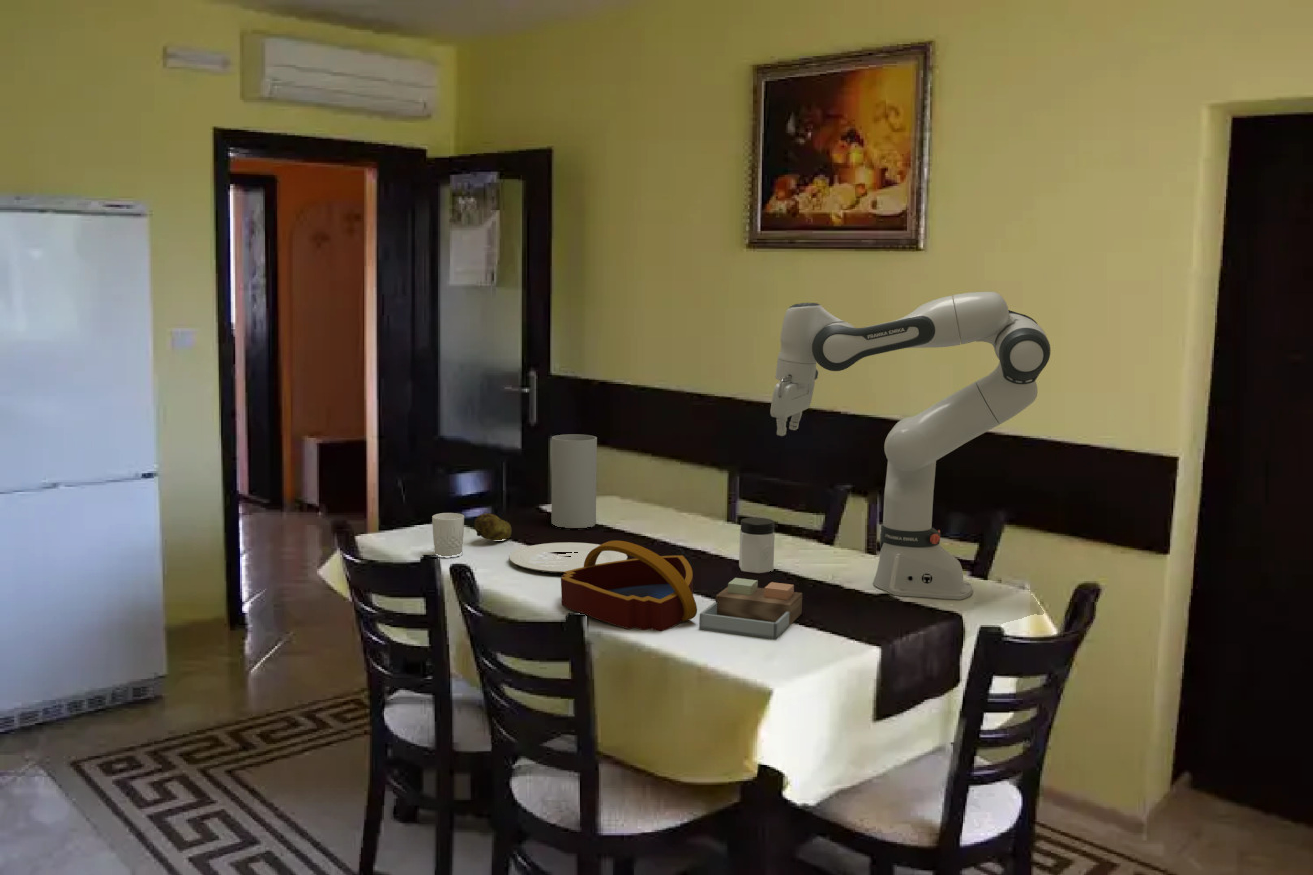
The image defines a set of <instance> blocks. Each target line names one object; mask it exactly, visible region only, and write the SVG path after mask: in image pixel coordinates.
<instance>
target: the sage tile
mask: <svg viewBox="0 0 1313 875" xmlns="http://www.w3.org/2000/svg"><path fill="white" fill-rule="evenodd" d="M758 583H759V581H758V579H756V580H755V579H751V578H750V579H747V578H740V577H734V578H733V579H732V580H730V581H729V582H728V583H727V587H728V593H736V594H744V595H751V594H753V593H754V592H755V591H756V590H757V588H759V586H758V585H759V584H758Z"/></svg>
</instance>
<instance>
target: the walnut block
mask: <svg viewBox="0 0 1313 875" xmlns="http://www.w3.org/2000/svg"><path fill="white" fill-rule="evenodd" d="M764 588H765V587H758V588H757V590H756V591H755V592H754V593H753V594H751V595H744V594H736V593H728V586H727V587H725V588H724V589H723V590H721V591H720V592H719V593H718V594H716V595H715V602H717V615H724V616H732V617H739V618H747V619H754V620H762V621H770V622H776V621H777V620H778V619H779V618H780V617H781V616H782V615H783V614H785V613H786V612H789V627H790V626H791V625H792V624H794V622H795V621H796V620H797V619H798V618H799V617H800V616H801V615H802V612H803V611H802V610H803V608H802V607H803V592H797V591H794V594H793V595H792V596H791V597H790V598H789V599H788V600H784V599H776V598H768V597H764Z"/></svg>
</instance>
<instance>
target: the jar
mask: <svg viewBox="0 0 1313 875" xmlns="http://www.w3.org/2000/svg"><path fill="white" fill-rule="evenodd" d="M738 550H739V555H738V557H739V559H738V567H739V568H740V571H741V572H746V573H754V574H764V573H771V572H773V571H774V565H775V564H774V561H775V559H774V558H775V521H774V520H773V519H771V518H766V517H746V518H742V519H741V520H740V529H739V549H738ZM770 571H771V572H770Z"/></svg>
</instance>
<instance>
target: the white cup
mask: <svg viewBox="0 0 1313 875" xmlns="http://www.w3.org/2000/svg"><path fill="white" fill-rule="evenodd" d="M431 517H432V518H431V519H432V520H431V521H432V536H433V538H432V539H433V547H434V555H435V554H438V555H441V556H452V555H457V554H460V553H461V552H462V553H463V544H464V532H465V531H464V530H465V529H464V528H465V515H464V514H461V513H458V512H457V513H456V512H455V513H454V512H442V513H436V514H434V515H432V516H431Z"/></svg>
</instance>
